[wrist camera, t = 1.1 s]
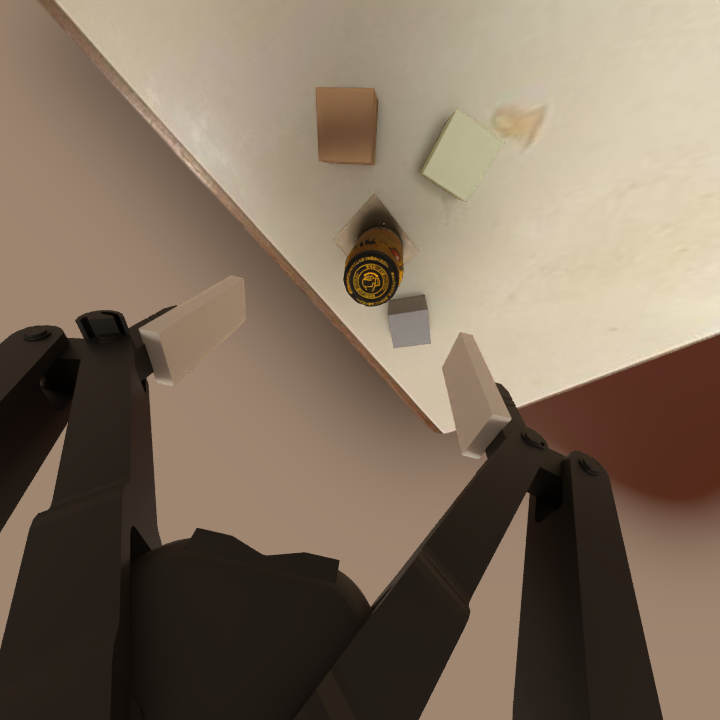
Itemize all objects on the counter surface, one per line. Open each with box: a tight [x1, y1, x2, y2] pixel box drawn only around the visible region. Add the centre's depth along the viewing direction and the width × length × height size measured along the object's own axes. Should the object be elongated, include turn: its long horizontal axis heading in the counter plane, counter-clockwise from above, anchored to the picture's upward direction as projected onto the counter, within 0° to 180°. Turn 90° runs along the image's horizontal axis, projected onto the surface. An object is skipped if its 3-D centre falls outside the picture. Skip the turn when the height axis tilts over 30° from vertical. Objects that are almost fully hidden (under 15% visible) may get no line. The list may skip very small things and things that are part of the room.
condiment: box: [333, 194, 419, 307], centre depth 29 cm, size 7×8×12 cm
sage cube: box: [420, 108, 505, 202], centre depth 26 cm, size 5×5×5 cm
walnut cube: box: [316, 87, 378, 165], centre depth 25 cm, size 5×5×5 cm
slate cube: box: [388, 295, 431, 348], centre depth 36 cm, size 5×5×5 cm
